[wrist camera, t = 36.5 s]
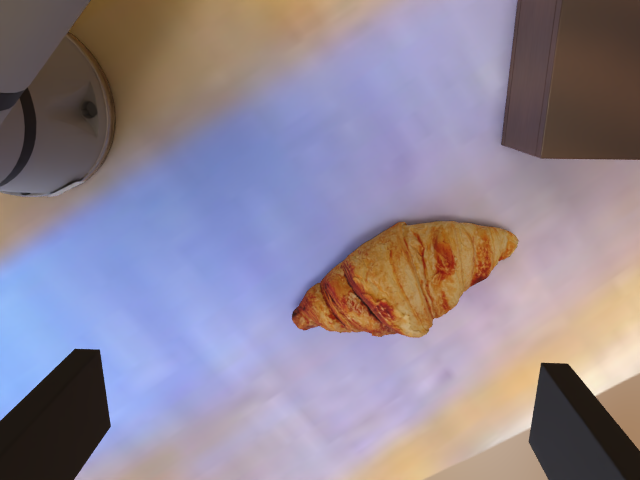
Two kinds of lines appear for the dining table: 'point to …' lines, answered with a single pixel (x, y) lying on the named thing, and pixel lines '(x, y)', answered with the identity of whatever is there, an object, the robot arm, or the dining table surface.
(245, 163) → the dining table surface
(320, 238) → the dining table surface
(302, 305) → the croissant
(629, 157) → the cabinet
